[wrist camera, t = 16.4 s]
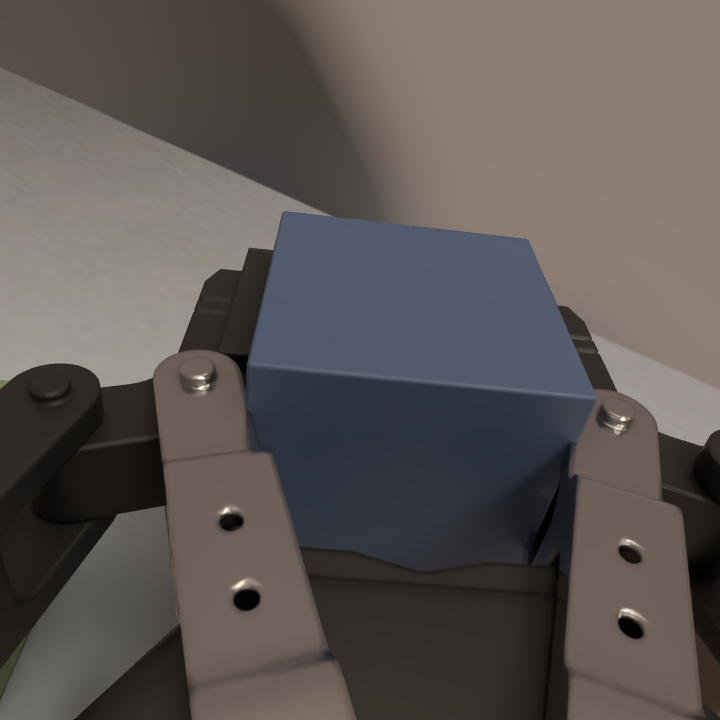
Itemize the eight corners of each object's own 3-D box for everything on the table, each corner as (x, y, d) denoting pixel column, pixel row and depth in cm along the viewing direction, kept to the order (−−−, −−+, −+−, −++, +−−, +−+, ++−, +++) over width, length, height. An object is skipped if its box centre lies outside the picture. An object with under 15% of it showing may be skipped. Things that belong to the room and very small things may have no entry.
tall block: (430, 561, 18) (529, 237, 12) (446, 736, 15) (600, 398, 9) (264, 548, 18) (282, 209, 12) (238, 724, 14) (246, 363, 8)
